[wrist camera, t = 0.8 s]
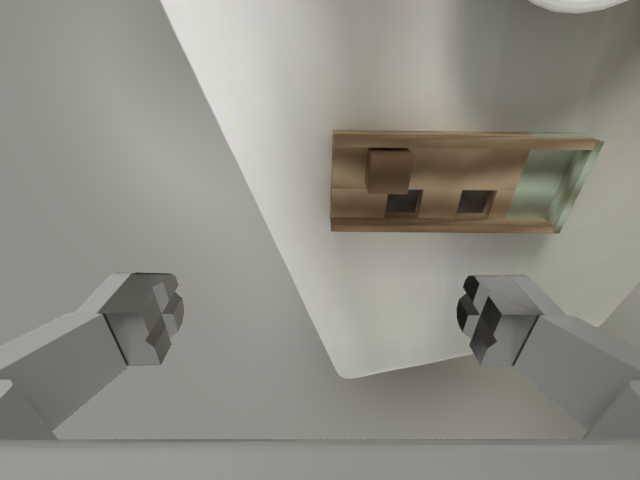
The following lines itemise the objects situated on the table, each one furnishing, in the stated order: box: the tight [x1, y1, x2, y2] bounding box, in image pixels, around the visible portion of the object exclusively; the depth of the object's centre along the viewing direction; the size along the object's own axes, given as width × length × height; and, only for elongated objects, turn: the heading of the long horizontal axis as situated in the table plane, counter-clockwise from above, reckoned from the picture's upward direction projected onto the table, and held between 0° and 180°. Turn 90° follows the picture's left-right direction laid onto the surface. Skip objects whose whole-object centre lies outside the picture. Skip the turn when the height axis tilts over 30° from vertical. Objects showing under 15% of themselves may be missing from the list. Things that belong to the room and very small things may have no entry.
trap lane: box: [330, 130, 604, 233], centre depth 43 cm, size 13×33×4 cm, turn 89°
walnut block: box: [364, 147, 414, 194], centre depth 40 cm, size 5×5×4 cm
